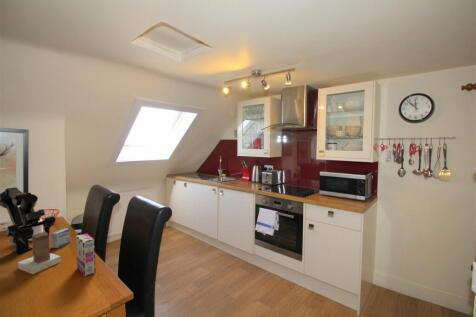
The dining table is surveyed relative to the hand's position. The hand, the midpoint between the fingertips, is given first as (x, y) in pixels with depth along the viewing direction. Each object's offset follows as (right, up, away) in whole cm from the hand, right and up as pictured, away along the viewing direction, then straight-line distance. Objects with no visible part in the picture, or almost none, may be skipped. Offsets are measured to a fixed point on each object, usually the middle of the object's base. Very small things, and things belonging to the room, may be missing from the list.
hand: (37, 240), depth 118 cm
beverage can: (-26, -10, +30) cm, 41 cm away
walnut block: (+4, -9, -2) cm, 10 cm away
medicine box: (-4, -11, +21) cm, 24 cm away
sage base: (+2, -12, -1) cm, 12 cm away
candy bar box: (+28, -13, -5) cm, 31 cm away
